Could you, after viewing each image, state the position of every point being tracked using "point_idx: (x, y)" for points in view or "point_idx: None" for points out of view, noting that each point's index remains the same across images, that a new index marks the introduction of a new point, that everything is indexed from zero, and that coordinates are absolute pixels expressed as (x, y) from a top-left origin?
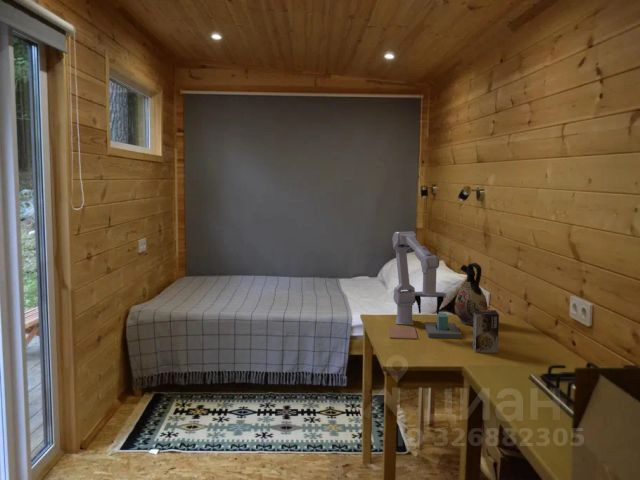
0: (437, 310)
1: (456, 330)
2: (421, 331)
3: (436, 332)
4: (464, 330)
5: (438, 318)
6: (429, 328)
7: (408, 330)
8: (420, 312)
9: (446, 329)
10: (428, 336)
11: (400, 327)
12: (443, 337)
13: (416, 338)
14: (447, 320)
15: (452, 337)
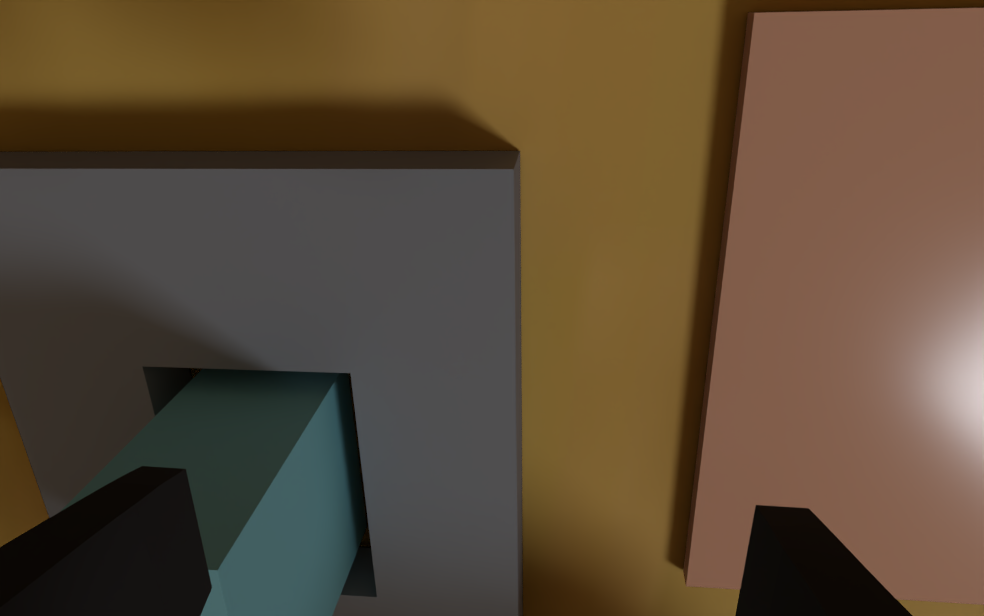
0: (83, 536)
1: (37, 367)
2: (596, 463)
3: (360, 226)
4: (9, 522)
5: (254, 571)
6: (472, 446)
7: (823, 451)
8: (779, 519)
9: (192, 398)
10: (518, 166)
11: (918, 584)
12: (261, 151)
13: (774, 13)
14: (79, 499)
15: (113, 155)
